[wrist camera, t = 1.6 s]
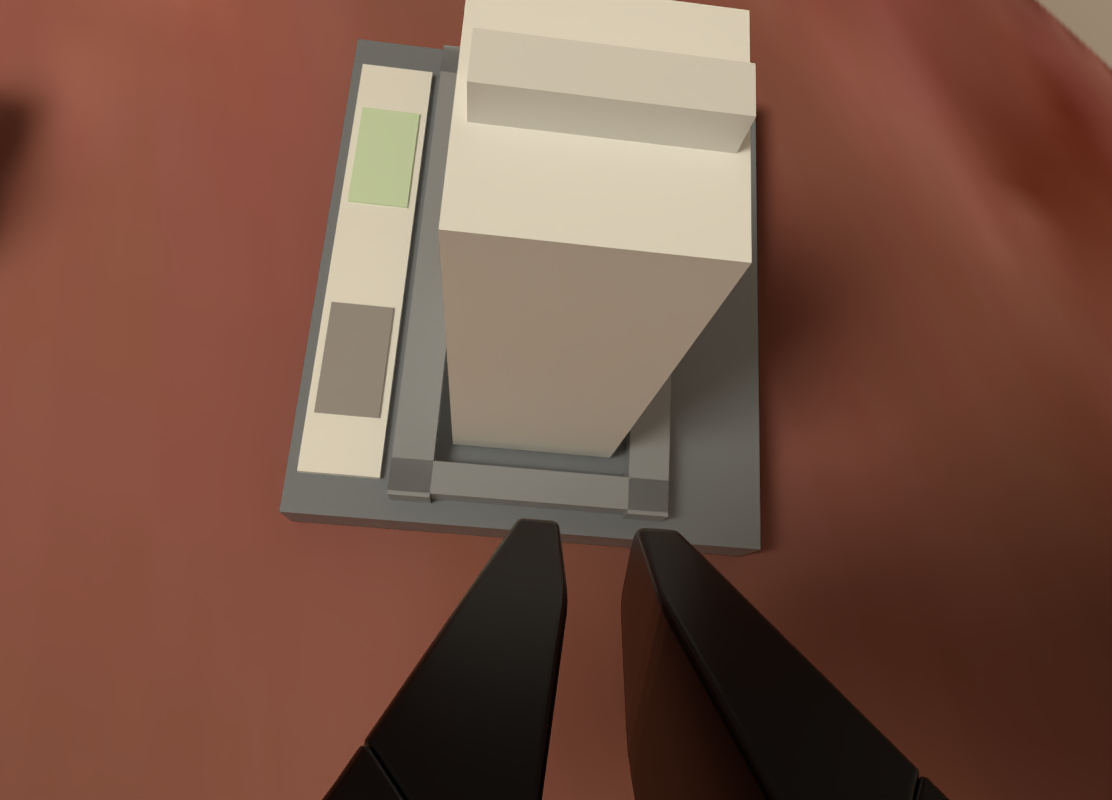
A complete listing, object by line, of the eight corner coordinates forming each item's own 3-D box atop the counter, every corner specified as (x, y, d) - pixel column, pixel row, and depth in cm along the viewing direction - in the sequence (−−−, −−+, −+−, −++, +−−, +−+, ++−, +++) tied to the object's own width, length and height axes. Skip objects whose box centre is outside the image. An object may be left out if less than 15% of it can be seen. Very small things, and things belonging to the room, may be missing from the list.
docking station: (741, 556, 22) (771, 545, 20) (292, 521, 21) (271, 506, 19) (739, 118, 27) (764, 70, 24) (363, 73, 26) (354, 19, 23)
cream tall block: (609, 457, 21) (773, 232, 10) (453, 444, 21) (436, 194, 9) (616, 313, 22) (768, -35, 11) (468, 298, 22) (468, -76, 11)
